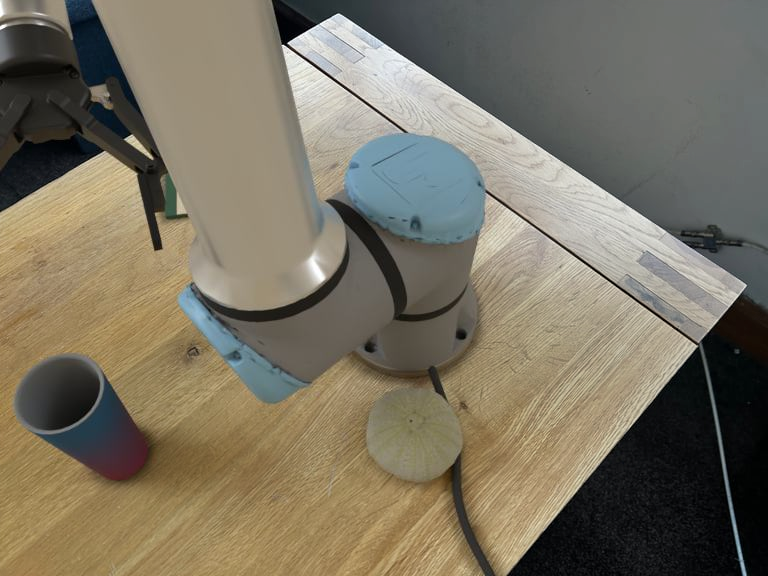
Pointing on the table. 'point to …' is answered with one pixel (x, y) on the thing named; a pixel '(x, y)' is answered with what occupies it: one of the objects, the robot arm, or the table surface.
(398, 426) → the sea urchin shell
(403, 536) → the table surface
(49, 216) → the table surface
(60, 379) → the cup
